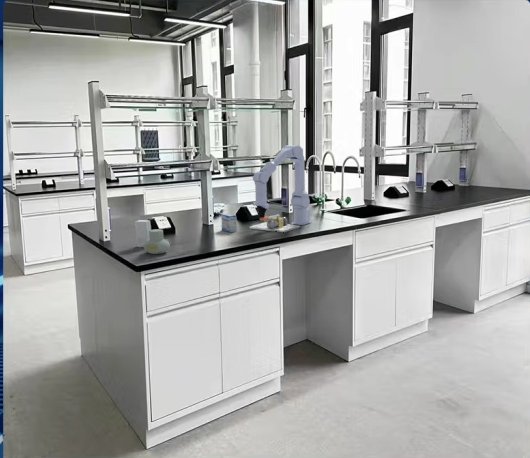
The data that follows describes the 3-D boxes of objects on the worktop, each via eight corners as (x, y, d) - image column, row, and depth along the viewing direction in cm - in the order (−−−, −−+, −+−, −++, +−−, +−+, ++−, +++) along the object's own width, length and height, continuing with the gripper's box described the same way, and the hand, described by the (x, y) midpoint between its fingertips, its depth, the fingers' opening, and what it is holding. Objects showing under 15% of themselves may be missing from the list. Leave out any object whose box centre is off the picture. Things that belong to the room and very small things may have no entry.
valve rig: (266, 223, 273) (266, 213, 272) (299, 227, 261) (299, 216, 259) (249, 228, 260) (249, 217, 259) (283, 232, 248) (283, 221, 247)
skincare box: (152, 245, 225) (151, 220, 222) (148, 247, 220) (146, 221, 218) (141, 245, 226) (139, 219, 224) (136, 247, 222) (134, 221, 220)
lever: (277, 216, 261) (277, 214, 260) (280, 217, 259) (280, 214, 259) (259, 220, 251) (259, 217, 251) (263, 220, 249) (263, 218, 249)
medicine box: (221, 230, 257) (220, 214, 255) (228, 229, 260) (227, 213, 258) (230, 232, 251) (229, 216, 249) (237, 231, 254) (236, 215, 252)
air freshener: (173, 251, 213) (171, 229, 211) (163, 255, 205) (162, 232, 203) (151, 249, 216) (150, 228, 214) (141, 254, 209) (139, 231, 207)
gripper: (248, 193, 255) (248, 219, 258) (260, 196, 243) (260, 223, 245) (260, 192, 259) (260, 217, 261) (272, 195, 246) (273, 222, 249)
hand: (261, 220), depth 253 cm, fingers closed
